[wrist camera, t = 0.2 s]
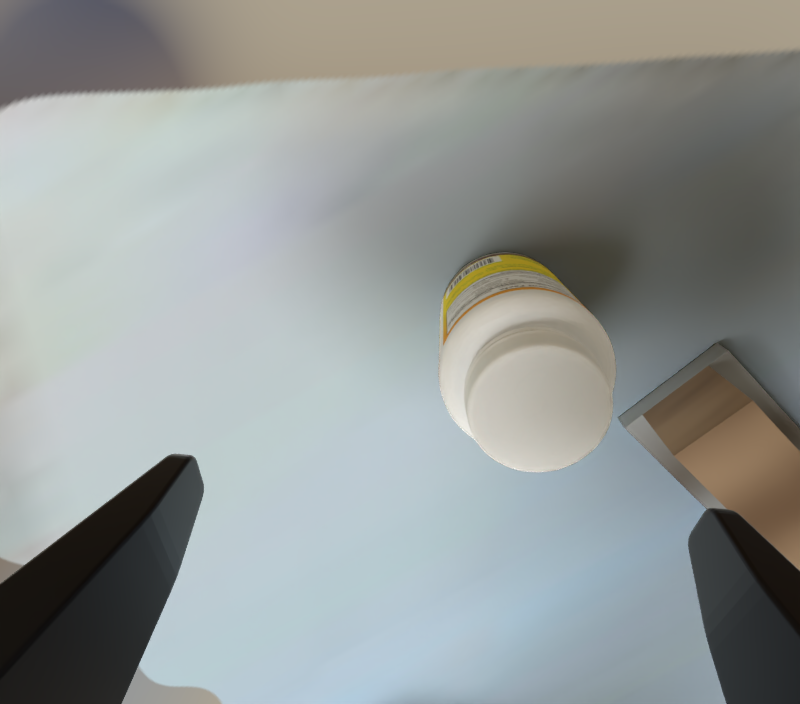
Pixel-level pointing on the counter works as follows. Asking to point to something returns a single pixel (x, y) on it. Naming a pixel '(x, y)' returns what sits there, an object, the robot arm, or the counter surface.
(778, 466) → the block
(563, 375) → the supplement bottle
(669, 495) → the counter surface
